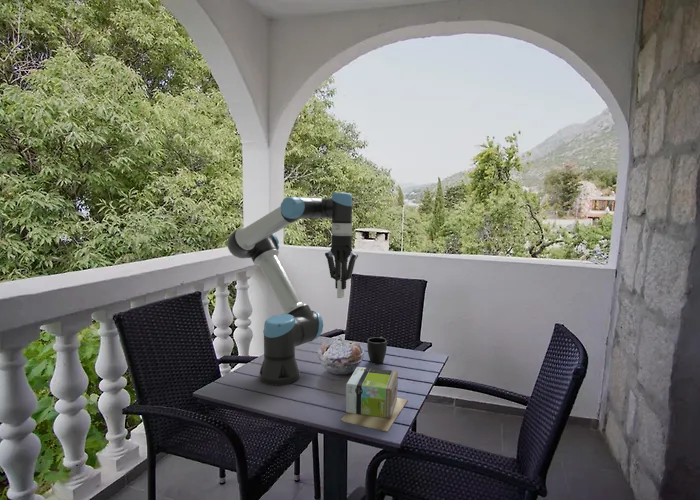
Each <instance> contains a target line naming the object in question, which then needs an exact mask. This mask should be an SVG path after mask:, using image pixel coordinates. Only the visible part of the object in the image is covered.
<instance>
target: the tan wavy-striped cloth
mask: <svg viewBox="0 0 700 500" xmlns="http://www.w3.org/2000/svg"><path fill="white" fill-rule="evenodd" d="M407 402H408V399H405V398H400V397H397V400H396V403H395V407H394V410H393V413H392V417H391V418H383V417H377V416H369V415H362V414H354V413H348V412H346V414H345V415H344V416H343V417H342V418H341V419H340V422H342V423H343V422H344V423H348V424H352V425H355V426H360V427H363V428H364V427H366V428H369V429H374V430H378V431H382V432H386V433H388V432H389V430H390V429H391V427H392V426H393V424H394V423H395V421H396V419H397V418H398V417H399V415H400V414H401V411H402V410H403V408H404V407H405V406H406V404H407Z"/></svg>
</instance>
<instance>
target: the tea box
mask: <svg viewBox="0 0 700 500" xmlns="http://www.w3.org/2000/svg"><path fill="white" fill-rule="evenodd" d="M398 372H399V371H397V370H391V369H390V370H389V369H381V368H372V367H371V368H369V367H362V366H356V368H355V370H354V371H353V373H352V375H351V376H350V377H349V379H348V381H347V382H346V384H345V412H346V413H354V414H362V415H369V416H377V417H383V418H391V417H392V413H393V410H394V407H395V403H396V400H397V398H398V388H399V387H398V386H399V383H398V382H399V380H398V378H399V373H398Z"/></svg>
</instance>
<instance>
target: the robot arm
mask: <svg viewBox="0 0 700 500" xmlns="http://www.w3.org/2000/svg"><path fill="white" fill-rule="evenodd" d="M352 218H353V195H352V193H349V192H333V193H332V194H331V198H327V197H325V198H324V197H305V196H303V197H301V196H288V197H287V196H286V197H285V198H284V199H282V202H281V203H280V205H279V206H278V207H277V208H275V209H274V210H271V211H270V212H268V213H267V214H265V215H264V216H262V217H259V219H257V220H256V221H254V222H252V223H250V224H249V225H247V226H246V227H243V226H241V227H239V228H237V229H236V230H234V231H232V233H231V234H230V235H229V236H228V238H227V243H226V244H227V246H226V247H227V249H228V251H229V253H230V254H231V255H233V256H234V257H235V258H238V259H251V261H252V262H253V265H255V266H258V267H259V268H260V270H261V271H262V273H263V275H264V277H265V279H266V281H267V284H269V287H270V289H271V290H272V292H273V294H274V296H275V299H276V300H277V303H278V304H279V306H280V308H281V309H282V311H283V313H282V314H275V315H272V316H270V317H269V318H267V319H266V320H265V321H264V324H263V325H264V326H263V361H262V364H261V367H260V370H259V373H258V374H259V375H258V376H259V377H258V379H259V381H260V382H261V383H263V384H266V385H269V386H284V385H290V384H292V383H295V382H297V381H298V380H299V378H300V369H299V366H298V364H297V360H296V347H299V346H300V345H303V344H306V343H309V342H311V343H312V342H313V341H314V340H317V339H318V338H319V337H320V336H321V335H322V333H323V331H324V330H323V329H324V319H323V317H322V316H321V314H320V313H319V312H318V311H316V310H311V308H310V306H309V305H308V304H309V303H304V302H303V301H302V299H301V297H300V295H299V293H298V291H297V289H296V288H295V286H294V284H293V282H292V281H291V279H290V277H289V275H288V273H287V272H286V269H285V268H284V266H283V264H282V262H281V261H280V258H279V257H278V256H279V253H280V252H279V249H280V245H279V244H280V243H279V238H278V236H277V235H276V233H277V232H279V231H281V230H282V229H284V228H286V227H288V226H289V225H291V224H293V223H295V222H297V221H299V220H301V219H331V234H332V235H331V237H330V238H331V242H330V243H331V248H330V250H328V252H325V253H324V256H325V257H326V259H327V265H328V270H329V274H330V278H331V279H333V280H334V281H335V282H334V283H335V285H334V286H335V287H334V288H335V289H336V298H337V299H343V298H344V297H345V290H346V288H347V281H348V280H350V279H352V276H353V271H354V268H355V263H356V260H357V258H358V257H359V254H357V253H355V252H353V249H352V244H353V243H352V242H353V240H352V239H353V238H352V234H353V232H352V231H353V219H352ZM348 259H349V260H348Z"/></svg>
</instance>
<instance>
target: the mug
mask: <svg viewBox="0 0 700 500" xmlns="http://www.w3.org/2000/svg"><path fill="white" fill-rule="evenodd" d="M387 343H388V340H387V339H386V338H384V337H383V336H379V337H378V336H377V337H370V338H368V339H367V346H366V347H367V355H368V359H369V362H370V363H371V362H372V363H371V364H373V363H375V364H374V365H381V364H383V363H384V360H385V357H386V353H387V345H388V344H387ZM380 363H381V364H380Z"/></svg>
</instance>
